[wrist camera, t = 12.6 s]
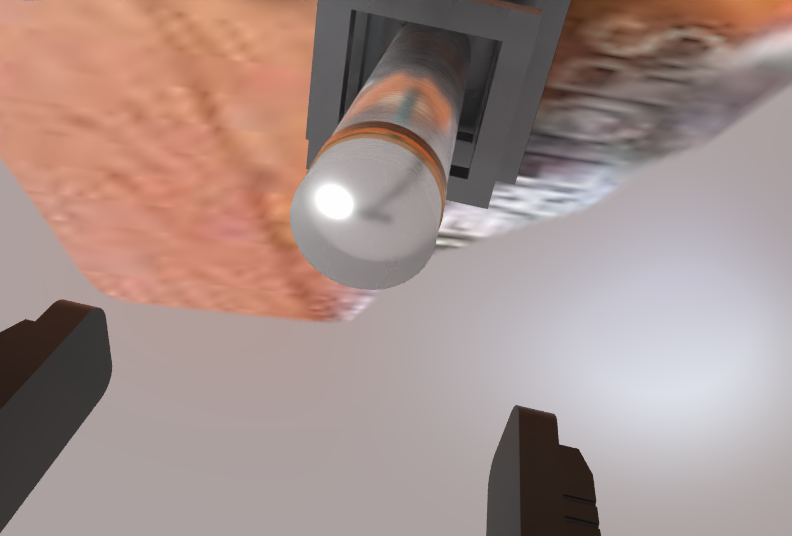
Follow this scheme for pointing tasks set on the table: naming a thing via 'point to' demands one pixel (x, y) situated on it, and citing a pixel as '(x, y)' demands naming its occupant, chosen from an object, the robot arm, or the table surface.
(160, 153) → the table surface
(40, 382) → the robot arm
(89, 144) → the table surface
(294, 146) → the table surface
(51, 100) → the table surface
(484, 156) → the collar stand
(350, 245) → the steel tube
